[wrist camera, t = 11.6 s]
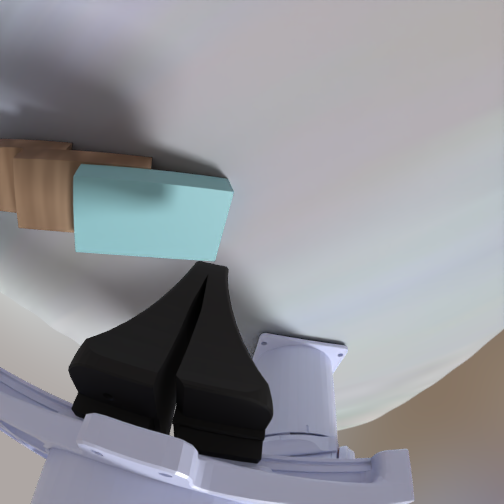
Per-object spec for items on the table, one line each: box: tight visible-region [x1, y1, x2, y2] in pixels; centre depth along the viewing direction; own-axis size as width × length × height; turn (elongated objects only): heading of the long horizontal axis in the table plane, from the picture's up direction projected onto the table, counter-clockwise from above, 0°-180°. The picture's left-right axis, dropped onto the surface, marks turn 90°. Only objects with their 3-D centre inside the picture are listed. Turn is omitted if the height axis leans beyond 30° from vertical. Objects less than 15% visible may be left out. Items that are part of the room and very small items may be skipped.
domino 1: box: [0, 139, 72, 213], centre depth 17 cm, size 2×5×9 cm
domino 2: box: [13, 148, 152, 233], centre depth 17 cm, size 2×5×9 cm
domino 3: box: [73, 164, 234, 261], centre depth 18 cm, size 2×5×9 cm
